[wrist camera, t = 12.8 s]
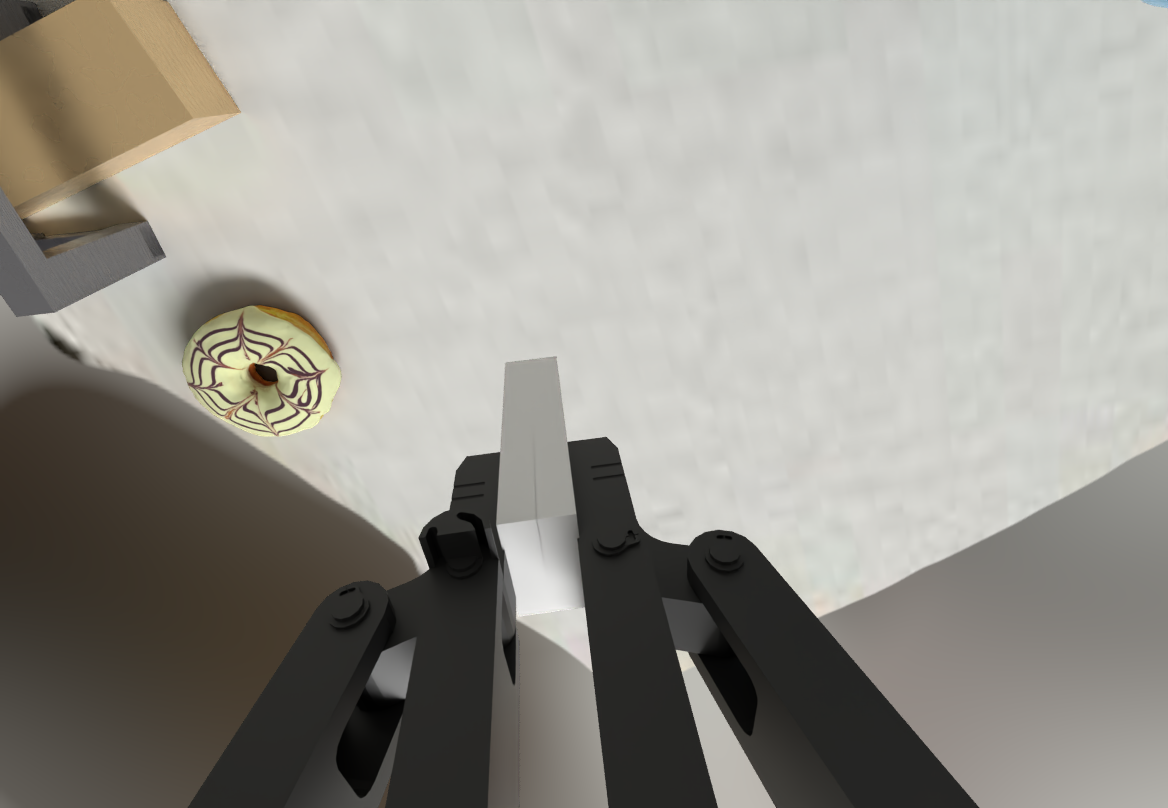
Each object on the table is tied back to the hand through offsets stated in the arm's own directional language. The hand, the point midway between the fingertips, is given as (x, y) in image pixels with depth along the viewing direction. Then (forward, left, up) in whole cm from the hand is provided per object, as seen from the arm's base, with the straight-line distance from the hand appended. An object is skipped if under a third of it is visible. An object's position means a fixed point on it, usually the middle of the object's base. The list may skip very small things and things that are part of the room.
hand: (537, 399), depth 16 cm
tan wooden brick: (-8, -28, -27) cm, 39 cm away
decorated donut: (+9, -22, -27) cm, 36 cm away
